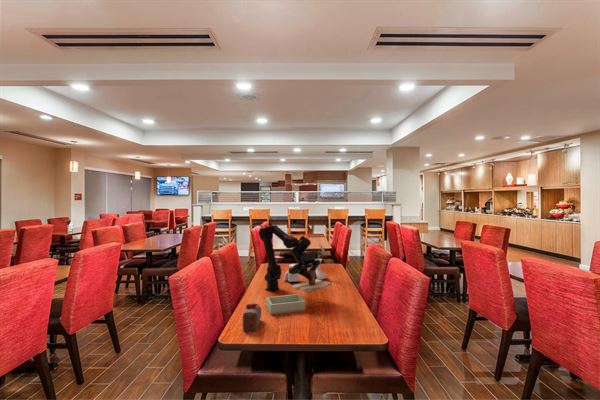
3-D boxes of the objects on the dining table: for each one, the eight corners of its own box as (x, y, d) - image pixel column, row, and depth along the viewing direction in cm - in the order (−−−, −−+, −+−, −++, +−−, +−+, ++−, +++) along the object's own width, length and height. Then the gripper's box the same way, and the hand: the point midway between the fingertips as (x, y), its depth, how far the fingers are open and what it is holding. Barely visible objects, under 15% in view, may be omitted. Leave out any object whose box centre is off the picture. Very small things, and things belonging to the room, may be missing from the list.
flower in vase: (326, 281, 211) (325, 245, 211) (309, 280, 214) (309, 244, 213) (328, 276, 224) (328, 242, 224) (312, 275, 227) (312, 241, 226)
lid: (291, 287, 167) (291, 271, 167) (315, 280, 180) (315, 265, 179) (308, 293, 158) (308, 275, 158) (331, 285, 171) (331, 269, 170)
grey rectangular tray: (266, 306, 164) (266, 297, 164) (298, 303, 169) (298, 294, 169) (270, 315, 153) (270, 305, 153) (305, 310, 158) (305, 301, 158)
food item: (244, 319, 148) (244, 299, 147) (261, 319, 148) (261, 298, 148) (241, 332, 134) (241, 309, 134) (260, 331, 135) (259, 309, 134)
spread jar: (299, 284, 205) (299, 266, 205) (282, 284, 205) (282, 266, 205) (299, 279, 217) (299, 262, 217) (283, 279, 217) (283, 262, 217)
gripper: (294, 249, 165) (309, 274, 157) (318, 245, 178) (333, 268, 170) (284, 262, 170) (298, 286, 163) (308, 257, 183) (322, 279, 176)
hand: (313, 279), depth 168 cm, fingers closed on lid, 4 cm apart
